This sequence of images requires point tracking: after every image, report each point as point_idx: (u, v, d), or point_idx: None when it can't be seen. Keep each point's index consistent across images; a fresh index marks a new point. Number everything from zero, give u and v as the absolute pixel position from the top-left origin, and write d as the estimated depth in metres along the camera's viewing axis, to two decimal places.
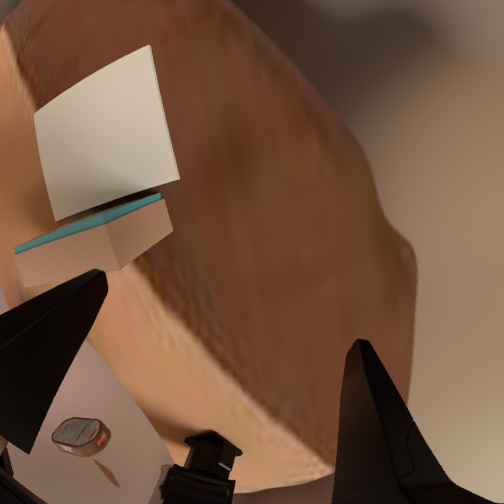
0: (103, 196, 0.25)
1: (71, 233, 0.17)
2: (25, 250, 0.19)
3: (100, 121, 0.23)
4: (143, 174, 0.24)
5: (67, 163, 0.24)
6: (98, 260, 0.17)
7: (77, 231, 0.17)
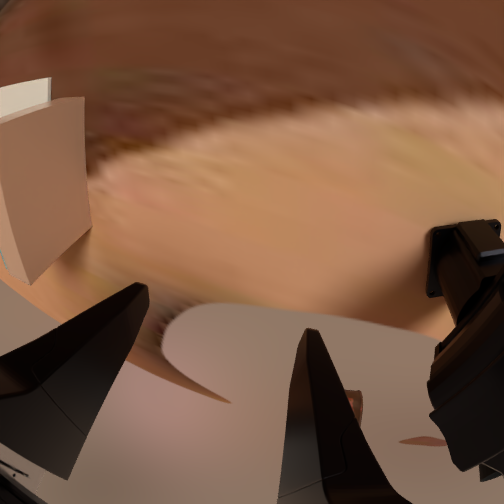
0: None
1: None
2: None
3: None
4: None
5: None
6: None
7: None
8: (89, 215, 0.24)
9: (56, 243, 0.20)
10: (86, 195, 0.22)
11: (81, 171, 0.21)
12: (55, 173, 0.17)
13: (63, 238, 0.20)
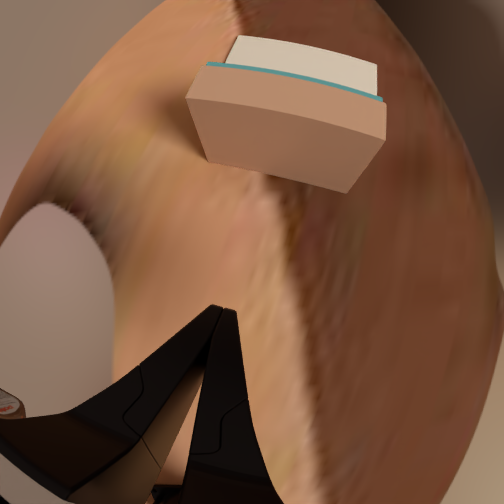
0: None
1: None
2: (234, 69, 0.16)
3: (316, 78, 0.25)
4: None
5: None
6: (360, 120, 0.15)
7: None
8: (222, 163, 0.24)
9: (213, 134, 0.19)
10: (245, 168, 0.24)
11: (274, 172, 0.23)
12: (291, 157, 0.20)
13: (214, 140, 0.20)
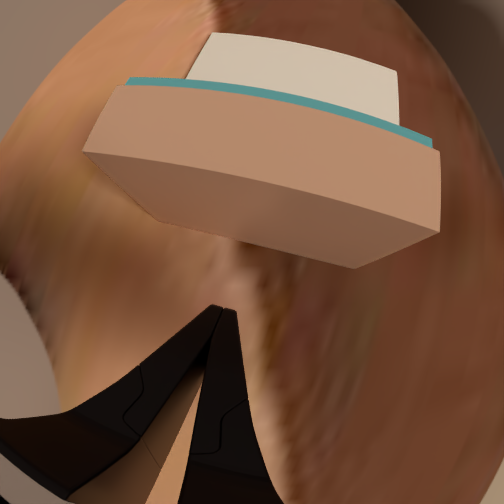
0: None
1: None
2: (168, 87, 0.09)
3: (315, 89, 0.18)
4: None
5: None
6: (399, 191, 0.08)
7: (369, 125, 0.09)
8: (177, 224, 0.17)
9: (147, 195, 0.12)
10: (208, 232, 0.17)
11: (249, 240, 0.16)
12: (271, 231, 0.13)
13: (153, 202, 0.13)
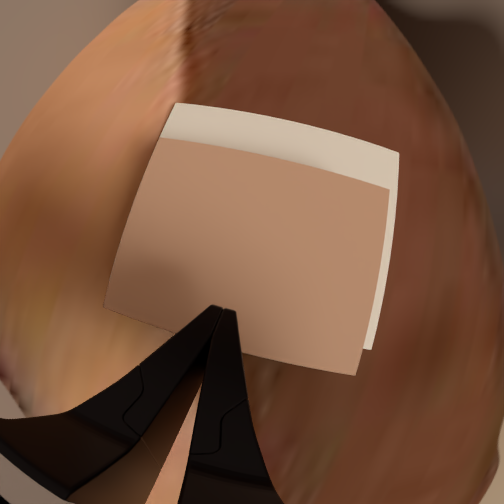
0: None
1: None
2: None
3: None
4: None
5: None
6: None
7: None
8: (127, 309, 0.12)
9: (153, 211, 0.13)
10: (166, 322, 0.12)
11: None
12: (264, 265, 0.13)
13: (147, 229, 0.13)
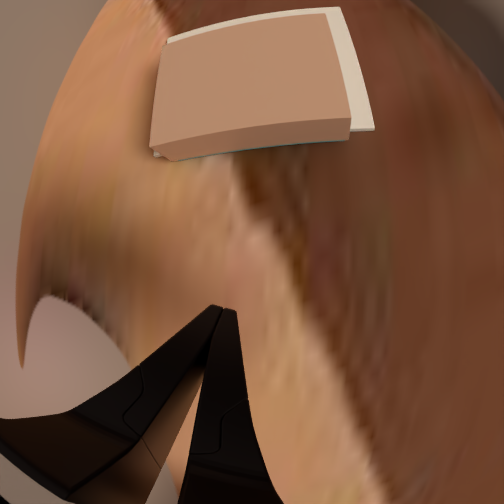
0: None
1: None
2: None
3: None
4: None
5: None
6: None
7: None
8: (167, 138, 0.16)
9: (171, 79, 0.17)
10: (197, 131, 0.16)
11: (236, 118, 0.15)
12: (254, 73, 0.15)
13: (170, 89, 0.17)
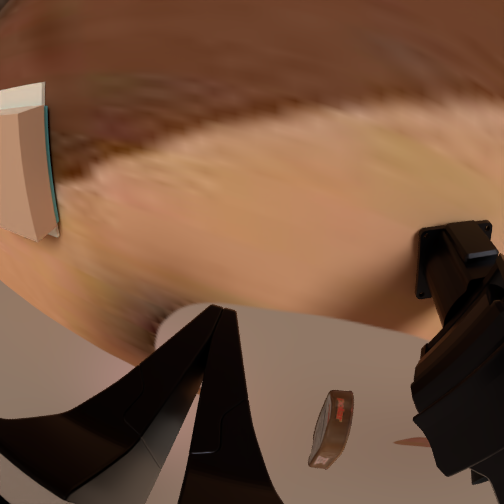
0: None
1: None
2: None
3: None
4: None
5: None
6: None
7: None
8: (32, 229, 0.21)
9: (7, 221, 0.21)
10: (28, 210, 0.20)
11: (21, 185, 0.18)
12: (1, 170, 0.18)
13: (11, 223, 0.21)
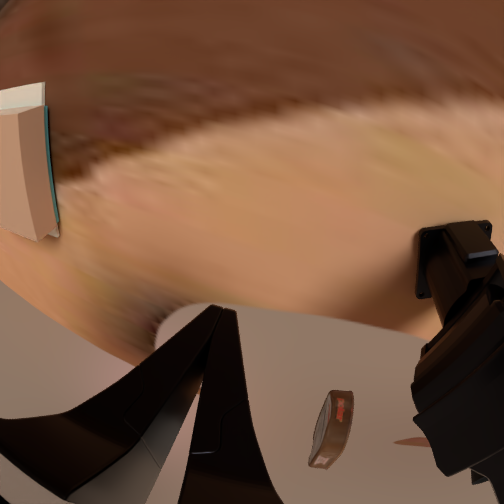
0: None
1: None
2: None
3: None
4: None
5: None
6: None
7: None
8: (32, 229, 0.21)
9: (7, 221, 0.21)
10: (28, 210, 0.20)
11: (21, 185, 0.18)
12: (1, 170, 0.18)
13: (11, 223, 0.21)
